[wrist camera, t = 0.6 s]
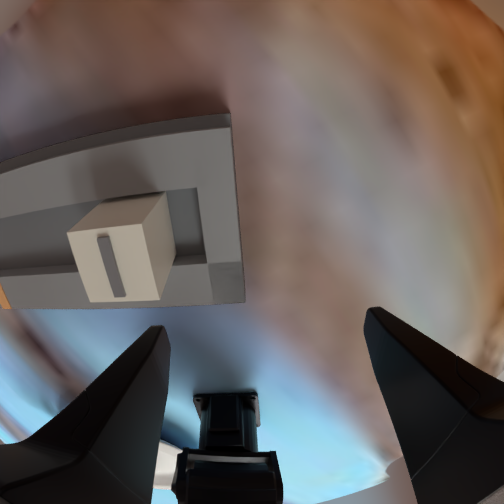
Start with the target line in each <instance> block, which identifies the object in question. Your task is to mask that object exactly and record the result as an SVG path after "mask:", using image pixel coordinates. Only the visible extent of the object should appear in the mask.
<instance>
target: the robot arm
mask: <svg viewBox="0 0 504 504" xmlns="http://www.w3.org/2000/svg"><path fill="white" fill-rule="evenodd" d="M364 336H365V340H366V343H367V347H368V351H369V355H370V359H371V363H372V367H373V370H374V373H375V376H376V379H377V382H378V384H379V387H380V390H381V392H382V395H383V398H384V401H385V403H386V406H387V409H388V412H389V414H390V417H391V420H392V423H393V426H394V429H395V432H396V435H397V438H398V441H399V444H400V447H401V450H402V453H403V456H404V459H405V462H406V465H407V468H408V472H409V475H410V478H411V479H412V480H411V482H412V485H413V488H414V492H415V495H416V499H417V503H418V504H504V382H502V381H500V380H498V379H497V378H495V377H493V376H491V375H489V374H487V373H485V372H484V371H482V370H480V369H478V368H476V367H475V366H473V365H472V364H470V363H468V362H467V361H465V360H464V359H462V358H460V357H459V356H456V354H454V353H453V352H451V351H449V350H448V349H446V348H445V347H443V346H442V345H440V344H439V343H437V342H435V341H434V340H432V339H431V338H429V337H428V336H426V335H424V334H423V333H421V332H420V331H418V330H417V329H415V328H413V327H412V326H410V325H409V324H407V323H405V322H404V321H402V320H401V319H399V318H398V317H396V316H394V315H393V314H391V313H390V312H388V311H386V310H385V309H383V308H381V307H371V308H368V310H367V312H366V318H365V323H364ZM170 353H171V347H170V343H169V339H168V336H167V333H166V330H165V328H164V326H162V325H156V326H151V327H149V328H148V329H147V330H146V331H145V332H144V333H143V334H142V335H141V336H140V337H139V338H138V339H137V340H136V341H135V342H134V343H133V344H132V345H130V346H129V347H128V348H127V349H126V350H125V351H124V352H123V353H122V354H121V355H120V356H119V357H118V358H117V359H116V360H115V361H114V362H113V363H112V364H111V365H110V366H109V367H108V368H107V369H106V370H105V371H103V372H102V373H101V374H100V375H99V376H98V377H97V378H96V379H95V380H94V381H93V382H92V383H91V384H90V385H89V386H88V387H87V388H86V391H85V390H84V391H83V392H82V393H81V394H80V395H79V396H78V397H77V398H76V399H75V400H73V401H72V402H71V403H70V404H69V405H68V406H67V407H66V408H65V409H63V410H62V411H61V412H60V413H59V414H58V415H56V416H55V417H54V418H53V419H51V420H50V421H49V422H48V423H46V424H45V425H44V426H43V427H41V428H40V429H39V430H38V431H36V432H35V433H34V434H33V435H31V436H30V437H29V438H27V439H25V440H23V441H21V442H18V443H13V444H4V445H0V504H151V499H152V491H153V484H154V476H155V469H156V462H157V455H158V449H159V442H160V436H161V430H162V424H163V418H164V412H165V406H166V401H167V394H168V385H169V368H170ZM193 402H194V404H195V407H196V410H197V413H198V415H199V418H200V421H201V424H200V438H199V449H191V448H189V447H183V452H182V453H179V454H177V461H176V469H175V473H174V477H173V480H172V484H171V490H172V491H173V493H174V494H175V495H176V498H177V499H178V504H282V503H283V483H282V478H281V473H280V469H279V464H278V460H277V455H276V451H270V452H258V444H257V428H256V427H259V426H260V414H259V402H258V394H257V393H255V392H250V393H232V394H197V395H194V396H193Z"/></svg>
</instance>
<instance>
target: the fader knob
mask: <svg viewBox="0 0 504 504" xmlns="http://www.w3.org/2000/svg"><path fill="white" fill-rule="evenodd" d="M67 236H68V239H69V242H70V246H71V249H72V252H73V255H74V258H75V261H76V264H77V267H78V270H79V273H80V276H81V279H82V282H83V285H84V287H85V290H86V293H87V295H88V298H89V301H90V302H126V301H153V300H160V298H161V295H162V293H163V290H164V287H165V284H166V281H167V278H168V275H169V273H170V270H171V267H172V264H173V261H174V259H175V256H176V253H177V252H176V247H175V242H174V236H173V230H172V225H171V219H170V213H169V207H168V201H167V194H166V191H161V192H153V193H145V194H138V195H130V196H123V197H116V198H109V199H104V200H103V201H102V202H101V203H99V204H98V205H97V206H96V207H95V208H94V209H92V210H91V211H90V212H89V213H88V214H87V215H86V216H84V217H83V218H82V219H81V220H80V221H79V222H78V223H77V224H76V225H74V226H73V227H72V228H71V229H70V230H69V231H68V232H67Z"/></svg>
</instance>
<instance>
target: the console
mask: <svg viewBox="0 0 504 504" xmlns="http://www.w3.org/2000/svg"><path fill="white" fill-rule="evenodd" d="M161 191H166V194H167V201H168V207H169V213H170V219H171V225H172V230H173V236H174V242H175V247H176V252H177V253H176V256H175V259H174V261H173V264H172V267H171V270H170V273H169V275H168V278H167V281H166V284H165V287H164V290H163V293H162V295H161V298H160V300H153V301H126V302H90V301H89V298H88V295H87V293H86V290H85V287H84V285H83V282H82V279H81V276H80V273H79V270H78V267H77V264H76V261H75V258H74V255H73V252H72V249H71V246H70V242H69V239H68V236H67V232H68V231H69V230H70V229H71V228H72V227H73V226H74V225H76V224H77V223H78V222H79V221H80V220H81V219H82V218H83V217H84V216H86V215H87V214H88V213H89V212H90V211H91V210H92V209H94V208H95V207H96V206H97V205H98V204H99V203H101V202H102V201H103V200H104V199H109V198H116V197H123V196H130V195H138V194H145V193H153V192H161ZM245 300H246V299H245V280H244V268H243V257H242V246H241V234H240V222H239V211H238V199H237V187H236V174H235V162H234V150H233V137H232V124H231V113H222V114H211V115H202V116H194V117H186V118H178V119H171V120H165V121H158V122H152V123H146V124H141V125H135V126H130V127H125V128H120V129H115V130H110V131H106V132H101V133H97V134H93V135H89V136H85V137H81V138H77V139H73V140H69V141H65V142H62V143H58V144H55V145H51V146H48V147H45V148H41V149H38V150H35V151H32V152H29V153H26V154H23V155H20V156H17V157H14V158H11V159H8V160H5V161H3V162H0V308H3V309H12V308H21V309H119V308H153V307H177V306H197V305H215V304H230V303H245Z"/></svg>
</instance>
